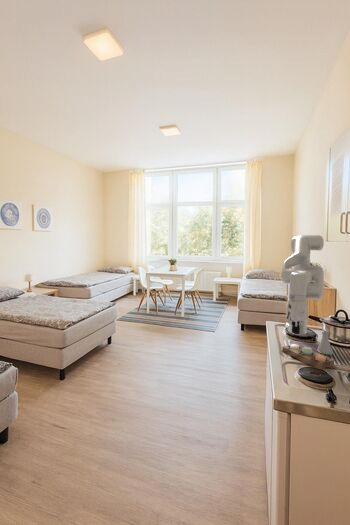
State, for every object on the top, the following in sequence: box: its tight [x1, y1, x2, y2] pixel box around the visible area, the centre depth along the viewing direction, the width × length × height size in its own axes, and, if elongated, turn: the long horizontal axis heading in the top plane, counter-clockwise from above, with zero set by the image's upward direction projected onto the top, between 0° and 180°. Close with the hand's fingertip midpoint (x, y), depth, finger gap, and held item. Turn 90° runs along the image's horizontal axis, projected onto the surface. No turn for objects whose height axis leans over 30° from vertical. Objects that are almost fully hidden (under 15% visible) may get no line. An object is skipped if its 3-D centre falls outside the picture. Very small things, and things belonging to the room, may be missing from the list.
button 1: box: [289, 343, 300, 350], centre depth 131 cm, size 4×4×3 cm
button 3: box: [315, 355, 326, 362], centre depth 118 cm, size 4×4×3 cm
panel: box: [281, 343, 335, 370], centre depth 125 cm, size 20×10×3 cm, turn 25°
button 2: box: [302, 346, 313, 356], centre depth 125 cm, size 4×4×3 cm
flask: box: [317, 331, 333, 356], centre depth 131 cm, size 7×7×10 cm
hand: (295, 333), depth 132 cm, fingers closed
